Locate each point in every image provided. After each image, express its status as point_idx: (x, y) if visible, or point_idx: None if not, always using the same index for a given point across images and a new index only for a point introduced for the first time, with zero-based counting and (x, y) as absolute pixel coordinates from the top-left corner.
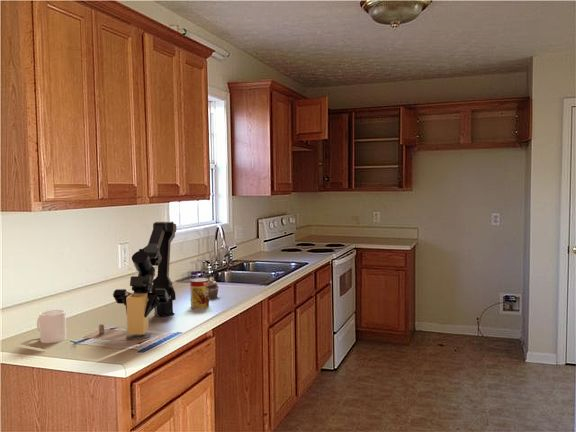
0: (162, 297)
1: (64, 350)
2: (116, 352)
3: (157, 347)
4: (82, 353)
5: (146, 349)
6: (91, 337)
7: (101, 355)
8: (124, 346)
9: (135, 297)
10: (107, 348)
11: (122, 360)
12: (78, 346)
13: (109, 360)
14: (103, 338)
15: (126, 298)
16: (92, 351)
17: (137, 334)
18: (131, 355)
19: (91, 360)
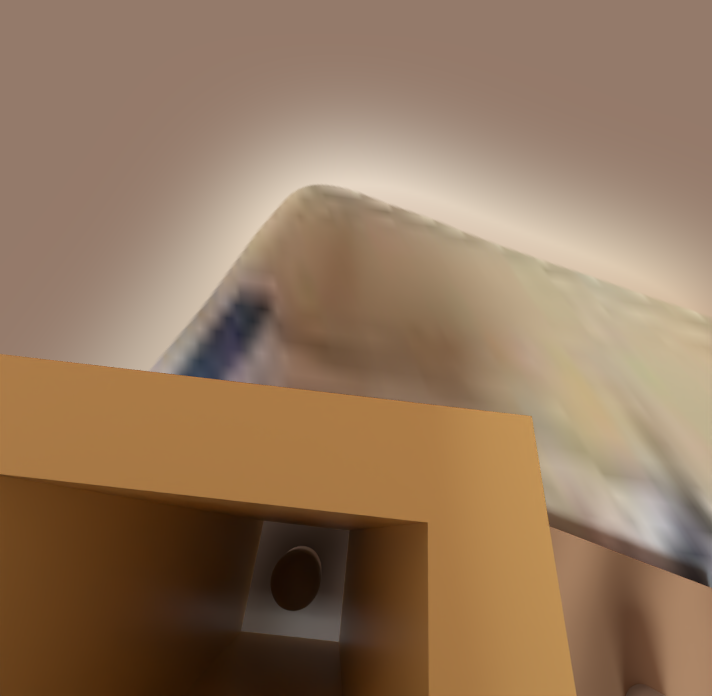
0: None
1: (655, 374)
2: (376, 308)
3: (166, 351)
4: (535, 318)
5: (228, 328)
6: (658, 586)
7: (432, 281)
8: (361, 395)
9: (197, 402)
10: (446, 374)
11: (321, 216)
12: (629, 433)
13: (374, 224)
14: (552, 541)
15: (511, 423)
16: (502, 339)
17: (303, 546)
18: (293, 260)
19: (448, 234)
